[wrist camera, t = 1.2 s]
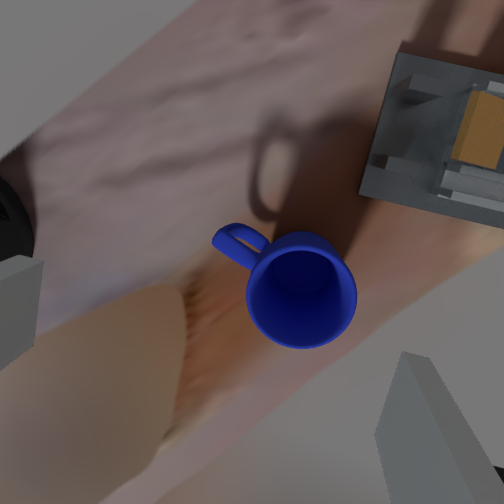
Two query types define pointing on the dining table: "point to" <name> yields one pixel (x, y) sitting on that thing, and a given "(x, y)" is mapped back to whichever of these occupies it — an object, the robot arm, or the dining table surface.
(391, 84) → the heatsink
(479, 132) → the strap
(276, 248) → the mug
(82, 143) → the dining table surface
